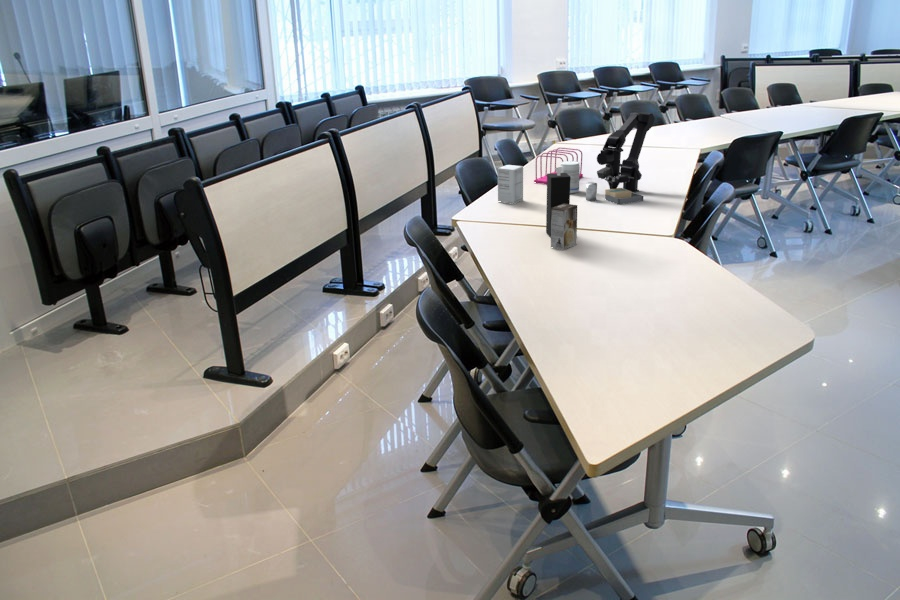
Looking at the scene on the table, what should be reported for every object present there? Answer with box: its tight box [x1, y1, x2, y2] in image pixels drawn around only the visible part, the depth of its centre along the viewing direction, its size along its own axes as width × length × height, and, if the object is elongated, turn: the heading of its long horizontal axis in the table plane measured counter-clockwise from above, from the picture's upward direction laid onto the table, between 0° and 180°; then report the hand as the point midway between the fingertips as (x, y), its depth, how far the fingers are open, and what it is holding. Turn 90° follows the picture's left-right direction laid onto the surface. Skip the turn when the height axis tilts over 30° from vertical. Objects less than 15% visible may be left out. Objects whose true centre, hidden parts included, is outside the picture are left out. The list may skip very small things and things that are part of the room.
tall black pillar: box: [545, 166, 571, 238], centre depth 293 cm, size 8×8×28 cm
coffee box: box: [550, 203, 578, 251], centre depth 280 cm, size 9×6×16 cm
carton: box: [604, 187, 632, 199], centre depth 349 cm, size 9×9×5 cm
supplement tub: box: [560, 160, 581, 194], centre depth 365 cm, size 10×10×15 cm
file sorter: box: [533, 147, 584, 185], centre depth 391 cm, size 17×25×16 cm
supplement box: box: [497, 164, 524, 205], centre depth 350 cm, size 10×9×17 cm
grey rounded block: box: [585, 181, 598, 202], centre depth 349 cm, size 5×5×8 cm
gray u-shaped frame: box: [604, 192, 644, 205], centre depth 347 cm, size 14×11×2 cm
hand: (612, 193), depth 355 cm, fingers closed
